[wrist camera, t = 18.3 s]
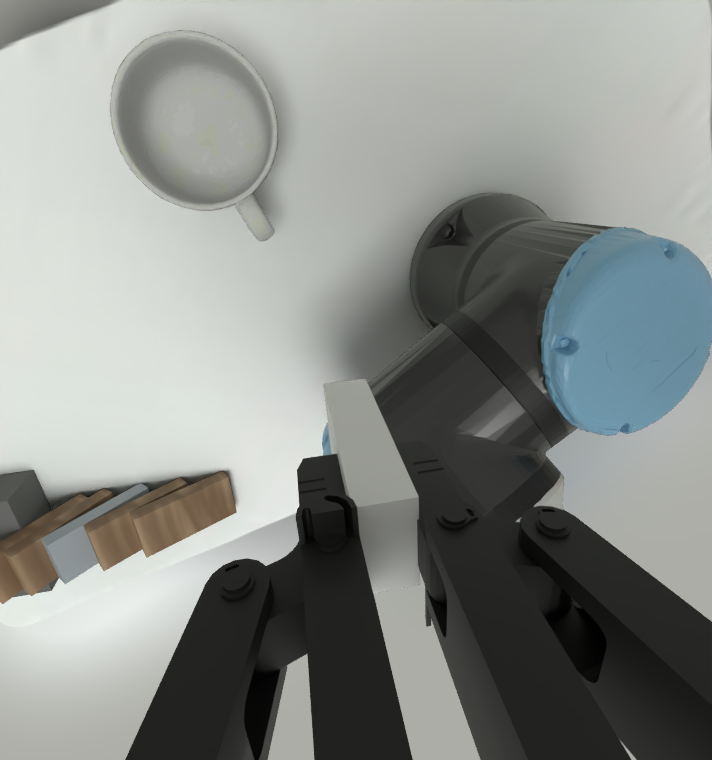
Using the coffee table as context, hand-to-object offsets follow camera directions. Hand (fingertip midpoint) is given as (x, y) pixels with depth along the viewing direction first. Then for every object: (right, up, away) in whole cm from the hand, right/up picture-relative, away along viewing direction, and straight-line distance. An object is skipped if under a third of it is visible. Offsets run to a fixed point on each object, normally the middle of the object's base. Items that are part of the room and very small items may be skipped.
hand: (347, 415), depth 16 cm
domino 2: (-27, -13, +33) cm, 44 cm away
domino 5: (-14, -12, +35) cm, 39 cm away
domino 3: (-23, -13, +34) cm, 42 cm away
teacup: (-11, +20, +22) cm, 32 cm away
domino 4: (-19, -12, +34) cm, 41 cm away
